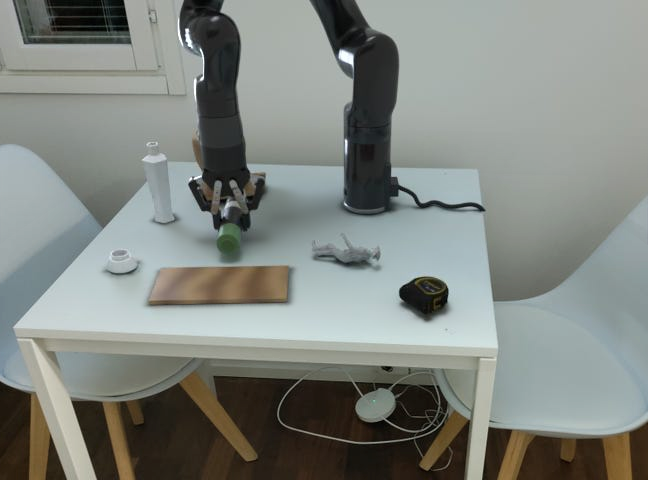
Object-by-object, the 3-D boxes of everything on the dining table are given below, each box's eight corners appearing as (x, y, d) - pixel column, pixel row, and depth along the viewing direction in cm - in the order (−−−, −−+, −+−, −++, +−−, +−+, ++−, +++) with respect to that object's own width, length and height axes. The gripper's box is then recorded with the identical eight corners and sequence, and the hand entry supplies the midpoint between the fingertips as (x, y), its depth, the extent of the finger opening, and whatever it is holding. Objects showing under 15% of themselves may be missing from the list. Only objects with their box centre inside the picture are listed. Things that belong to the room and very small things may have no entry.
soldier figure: (326, 251, 130) (386, 240, 125) (326, 276, 128) (388, 265, 124) (307, 236, 123) (370, 224, 118) (307, 263, 121) (371, 251, 117)
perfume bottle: (171, 224, 136) (159, 149, 128) (150, 222, 137) (136, 147, 128) (181, 215, 140) (169, 140, 131) (160, 213, 141) (147, 139, 132)
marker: (227, 212, 138) (225, 192, 135) (248, 212, 138) (246, 192, 135) (217, 256, 123) (214, 235, 121) (240, 256, 123) (238, 235, 121)
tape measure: (396, 302, 113) (397, 282, 111) (429, 290, 116) (430, 270, 114) (422, 321, 109) (424, 301, 106) (456, 308, 112) (458, 288, 109)
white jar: (124, 258, 125) (102, 270, 122) (121, 243, 123) (98, 254, 120) (143, 266, 123) (121, 278, 120) (140, 251, 121) (118, 262, 118)
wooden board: (288, 269, 122) (288, 265, 122) (286, 302, 113) (286, 298, 113) (161, 271, 121) (161, 267, 121) (149, 305, 112) (148, 300, 112)
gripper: (264, 130, 123) (272, 220, 133) (183, 132, 122) (197, 222, 133) (262, 145, 117) (270, 238, 127) (176, 147, 116) (191, 240, 127)
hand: (232, 230), depth 130 cm, fingers closed on marker, 4 cm apart
